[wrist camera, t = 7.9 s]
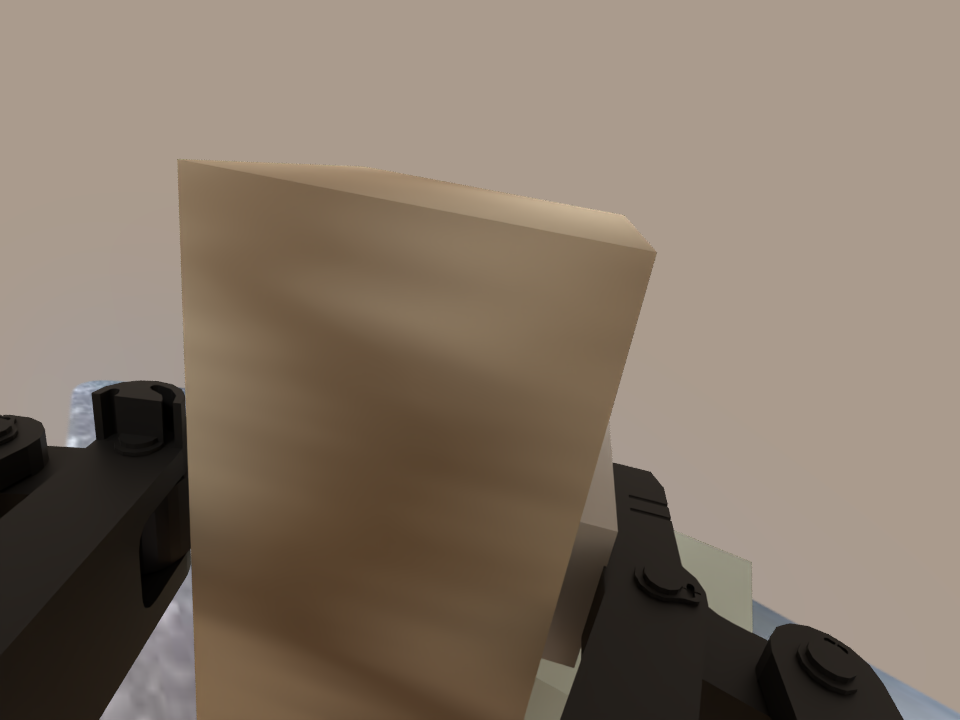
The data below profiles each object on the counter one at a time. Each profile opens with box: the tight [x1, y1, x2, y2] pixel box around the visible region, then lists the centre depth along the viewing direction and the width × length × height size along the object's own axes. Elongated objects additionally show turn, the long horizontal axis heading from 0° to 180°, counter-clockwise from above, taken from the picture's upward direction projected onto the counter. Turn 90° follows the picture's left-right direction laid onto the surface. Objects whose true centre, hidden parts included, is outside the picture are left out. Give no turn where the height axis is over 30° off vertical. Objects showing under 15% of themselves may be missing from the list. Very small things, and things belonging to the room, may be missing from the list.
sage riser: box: [524, 531, 753, 720], centre depth 29 cm, size 20×14×5 cm
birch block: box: [177, 159, 657, 720], centre depth 10 cm, size 5×5×12 cm
